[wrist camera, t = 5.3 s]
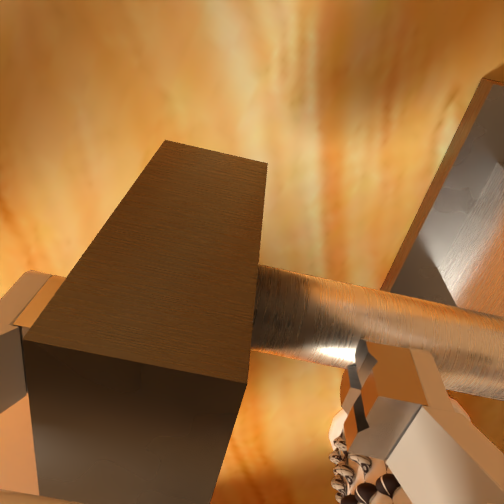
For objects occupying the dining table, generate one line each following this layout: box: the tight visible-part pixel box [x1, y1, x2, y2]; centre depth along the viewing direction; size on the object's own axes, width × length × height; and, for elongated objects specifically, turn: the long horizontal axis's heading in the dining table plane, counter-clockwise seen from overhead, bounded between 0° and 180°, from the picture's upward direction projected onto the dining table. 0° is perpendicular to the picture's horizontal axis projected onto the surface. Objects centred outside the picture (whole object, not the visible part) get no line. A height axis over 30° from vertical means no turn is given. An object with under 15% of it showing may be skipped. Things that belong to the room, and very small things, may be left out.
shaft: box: [22, 140, 504, 504], centre depth 11 cm, size 4×19×8 cm, turn 78°
